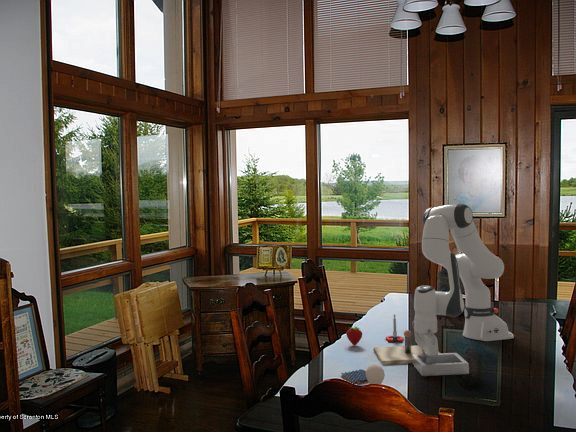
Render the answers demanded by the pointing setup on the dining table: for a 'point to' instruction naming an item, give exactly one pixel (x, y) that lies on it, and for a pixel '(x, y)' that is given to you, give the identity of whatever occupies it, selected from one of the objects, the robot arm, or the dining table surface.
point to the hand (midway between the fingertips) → (426, 360)
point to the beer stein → (445, 281)
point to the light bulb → (375, 374)
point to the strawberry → (354, 335)
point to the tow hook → (394, 334)
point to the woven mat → (355, 376)
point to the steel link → (441, 364)
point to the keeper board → (398, 352)
